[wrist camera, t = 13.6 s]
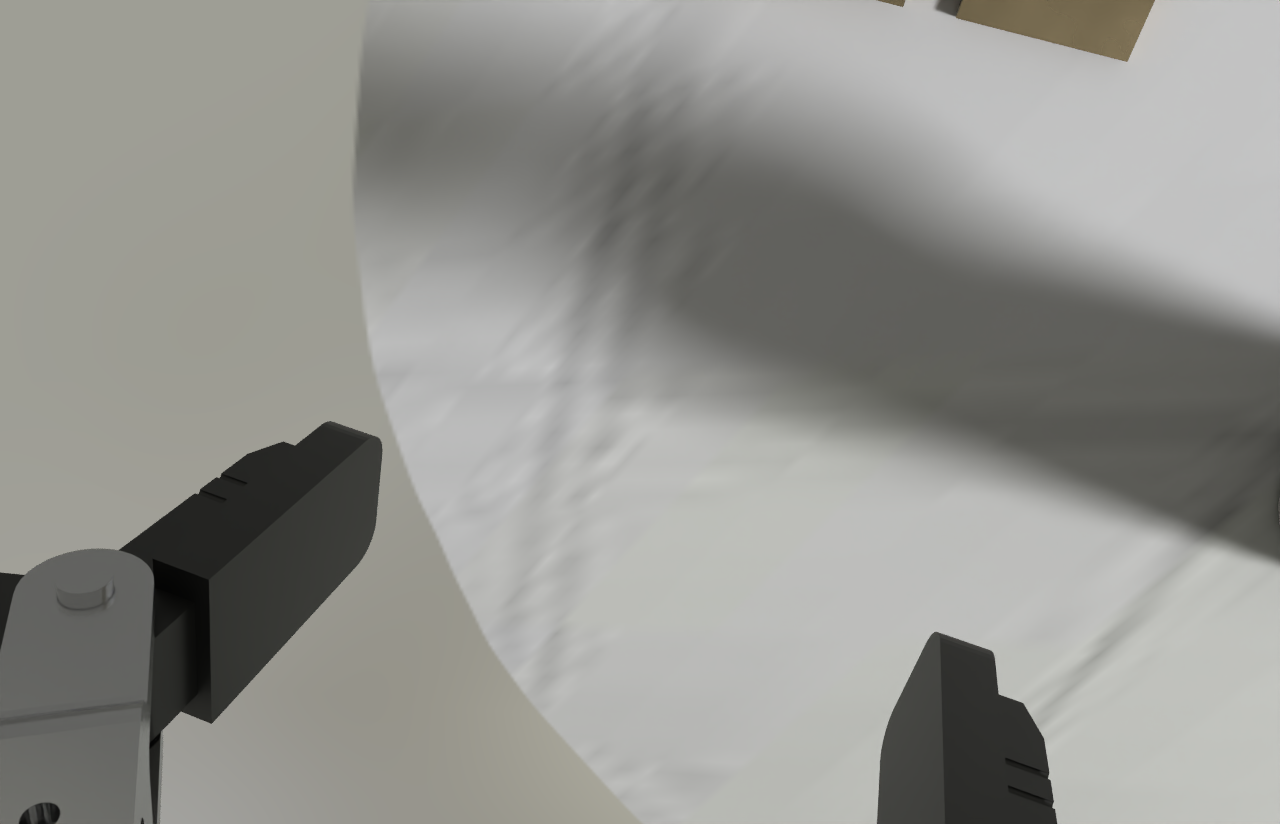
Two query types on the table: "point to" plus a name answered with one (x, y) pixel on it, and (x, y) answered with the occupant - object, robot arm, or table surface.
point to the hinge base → (1064, 21)
